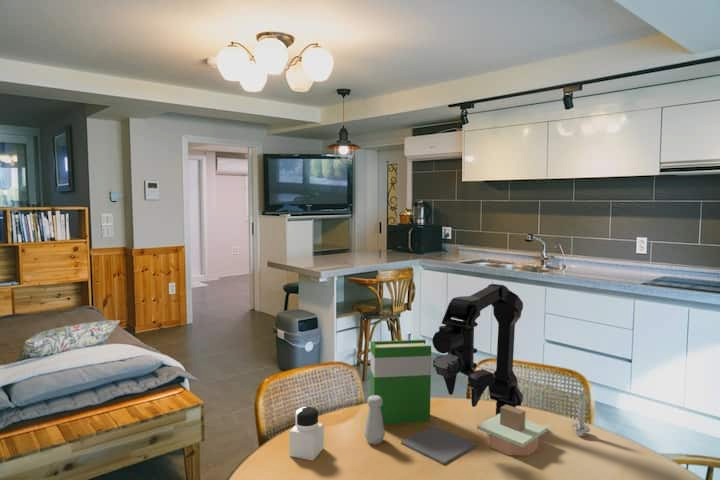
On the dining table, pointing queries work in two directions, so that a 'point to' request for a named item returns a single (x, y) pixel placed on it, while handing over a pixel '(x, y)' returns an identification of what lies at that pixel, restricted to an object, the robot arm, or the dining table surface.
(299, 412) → the medicine bottle
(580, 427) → the screw
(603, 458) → the dining table surface
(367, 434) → the salt shaker
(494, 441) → the bowl
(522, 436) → the lid
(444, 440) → the mat
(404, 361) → the hardback book
